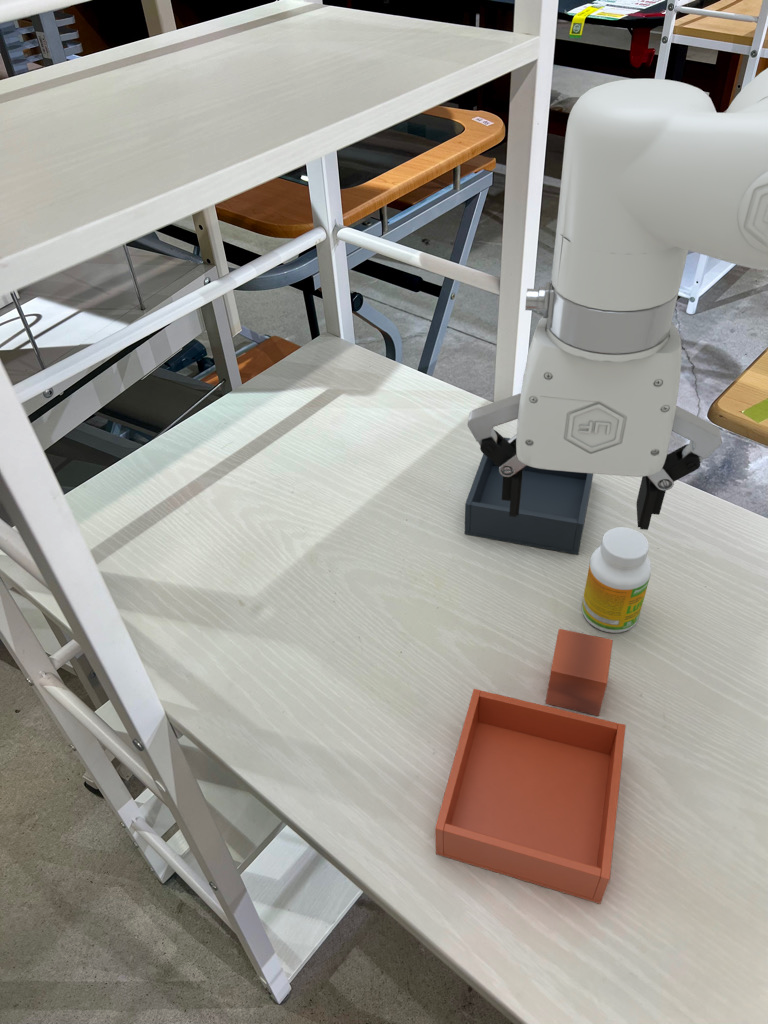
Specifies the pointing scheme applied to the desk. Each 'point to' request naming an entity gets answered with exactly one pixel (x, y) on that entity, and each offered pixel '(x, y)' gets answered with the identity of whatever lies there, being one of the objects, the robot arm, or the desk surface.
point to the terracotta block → (579, 672)
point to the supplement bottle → (617, 580)
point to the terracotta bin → (534, 795)
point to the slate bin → (530, 508)
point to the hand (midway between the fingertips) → (577, 510)
